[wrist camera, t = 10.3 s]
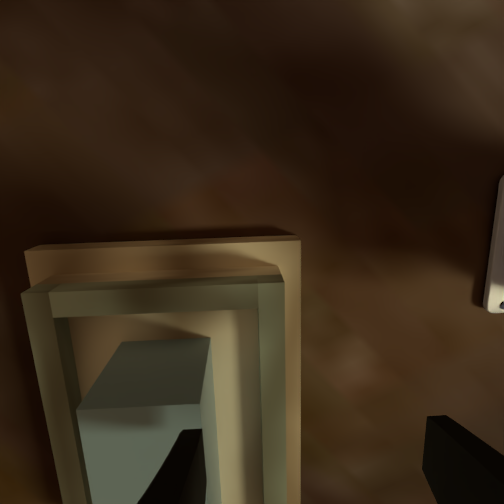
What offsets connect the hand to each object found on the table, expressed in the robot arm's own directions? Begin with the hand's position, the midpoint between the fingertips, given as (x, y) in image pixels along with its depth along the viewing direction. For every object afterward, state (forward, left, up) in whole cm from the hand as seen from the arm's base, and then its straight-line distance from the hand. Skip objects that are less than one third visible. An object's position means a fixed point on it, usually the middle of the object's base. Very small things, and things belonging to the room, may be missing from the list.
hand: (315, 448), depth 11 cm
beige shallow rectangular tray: (+6, +5, -10) cm, 13 cm away
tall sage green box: (+6, +5, -7) cm, 10 cm away
